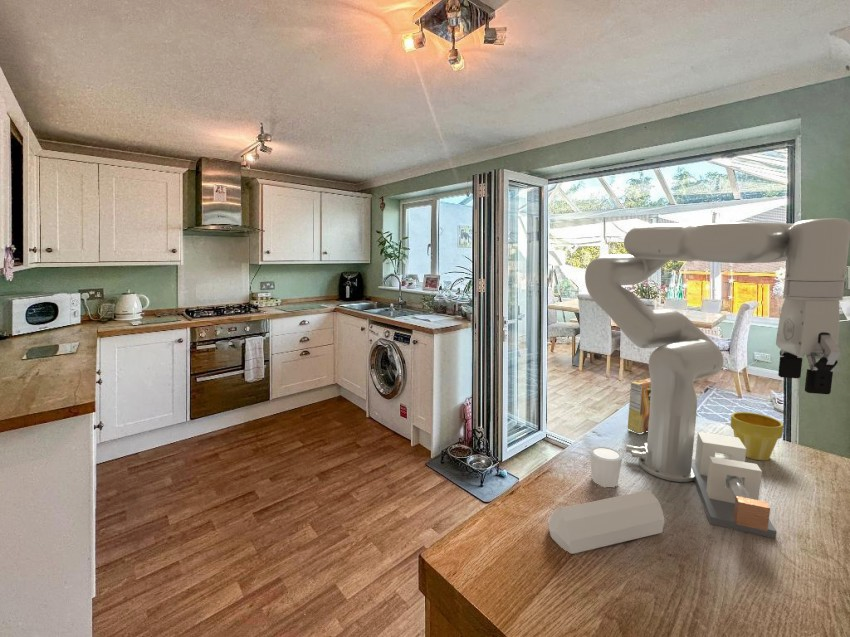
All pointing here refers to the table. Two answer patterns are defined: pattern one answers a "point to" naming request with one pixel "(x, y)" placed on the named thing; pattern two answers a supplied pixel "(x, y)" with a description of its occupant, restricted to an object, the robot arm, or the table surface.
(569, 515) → the crystal
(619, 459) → the shot glass
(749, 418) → the plant pot
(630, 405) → the candy box
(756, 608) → the table surface
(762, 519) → the shaft
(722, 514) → the bearing base
